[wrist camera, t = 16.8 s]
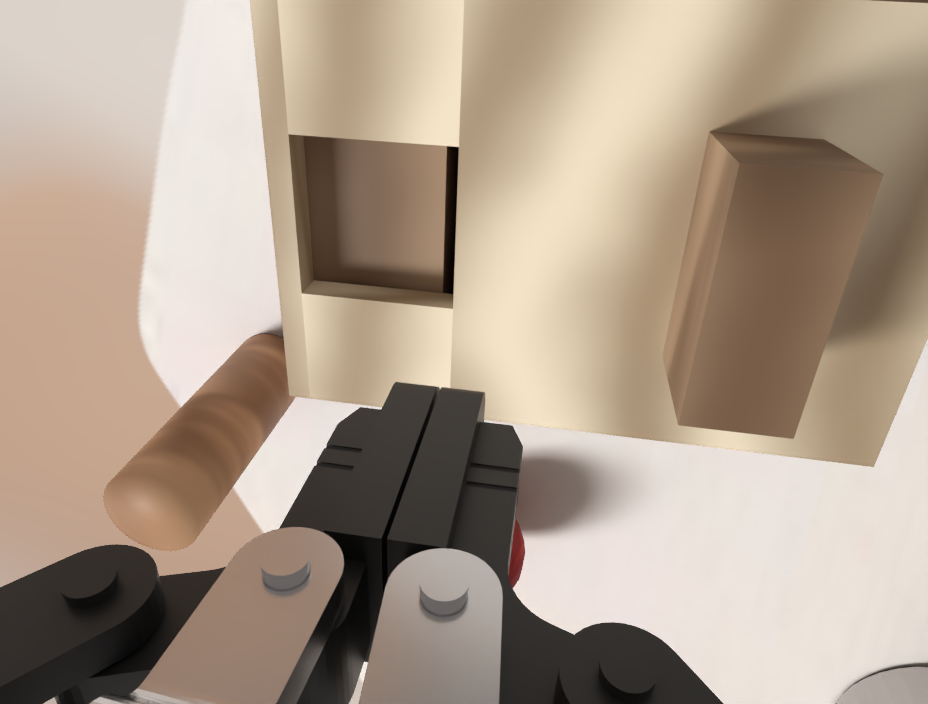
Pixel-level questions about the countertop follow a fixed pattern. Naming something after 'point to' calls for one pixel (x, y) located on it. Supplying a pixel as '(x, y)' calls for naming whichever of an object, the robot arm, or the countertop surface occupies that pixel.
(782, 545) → the countertop surface
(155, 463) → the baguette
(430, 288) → the wooden box
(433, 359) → the lid
